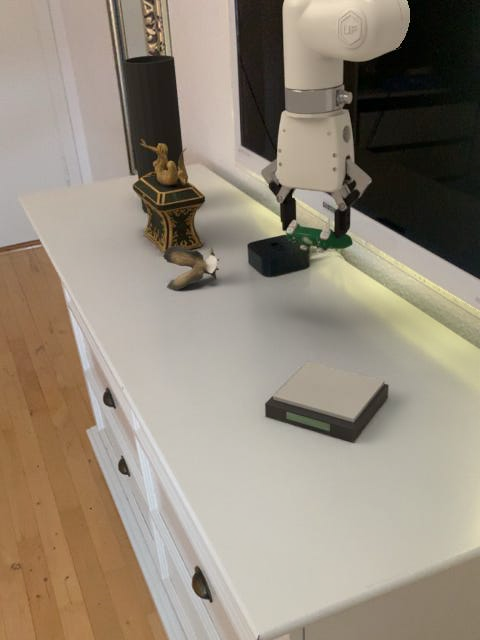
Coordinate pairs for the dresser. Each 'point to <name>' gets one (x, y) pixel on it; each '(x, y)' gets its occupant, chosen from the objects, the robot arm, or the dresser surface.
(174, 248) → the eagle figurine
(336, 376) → the scale
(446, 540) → the dresser surface
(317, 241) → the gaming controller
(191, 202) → the decorative box
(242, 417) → the dresser surface
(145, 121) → the vase
